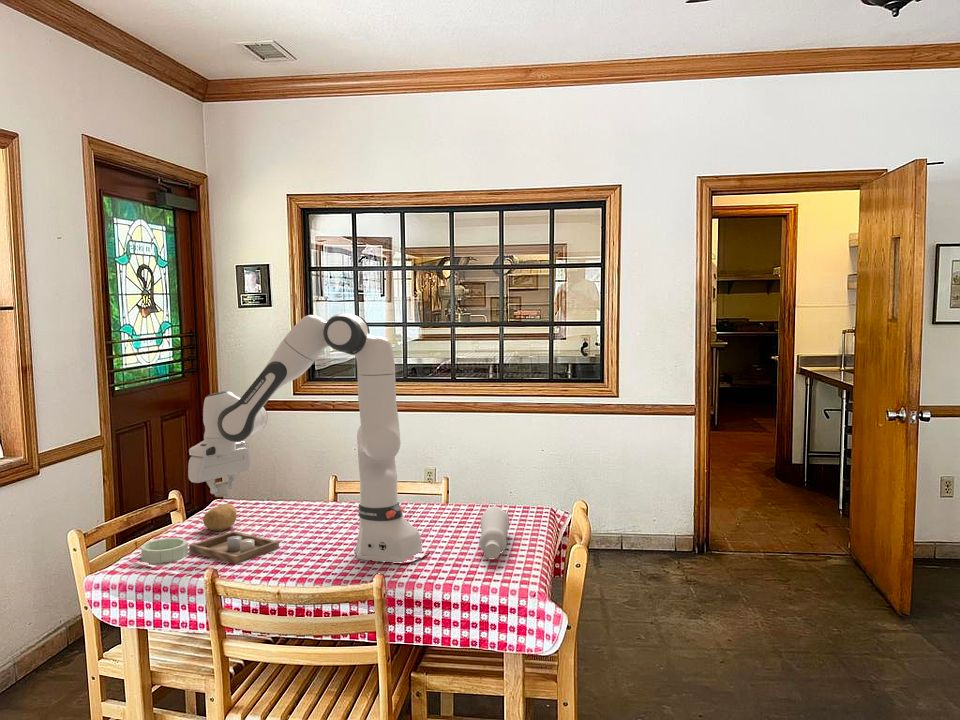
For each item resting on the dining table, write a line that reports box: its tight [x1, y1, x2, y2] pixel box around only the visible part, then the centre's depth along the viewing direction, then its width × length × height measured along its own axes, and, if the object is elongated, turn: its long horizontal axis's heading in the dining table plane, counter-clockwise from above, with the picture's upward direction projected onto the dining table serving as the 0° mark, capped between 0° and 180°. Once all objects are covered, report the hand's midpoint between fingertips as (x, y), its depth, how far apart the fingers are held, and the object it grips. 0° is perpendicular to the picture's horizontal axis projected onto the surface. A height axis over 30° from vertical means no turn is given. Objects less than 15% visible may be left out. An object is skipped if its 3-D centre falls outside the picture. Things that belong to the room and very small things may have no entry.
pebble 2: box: [227, 536, 242, 552], centre depth 209 cm, size 4×4×4 cm
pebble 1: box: [214, 481, 230, 498], centre depth 211 cm, size 4×4×4 cm
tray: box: [188, 530, 280, 565], centre depth 209 cm, size 20×16×3 cm
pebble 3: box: [240, 539, 254, 553], centre depth 206 cm, size 4×4×4 cm
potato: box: [202, 503, 238, 532], centre depth 231 cm, size 10×14×8 cm
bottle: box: [479, 506, 510, 559], centre depth 213 cm, size 9×9×30 cm
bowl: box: [140, 537, 189, 564], centre depth 204 cm, size 12×12×4 cm
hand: (221, 491), depth 211 cm, fingers closed on pebble 1, 4 cm apart
